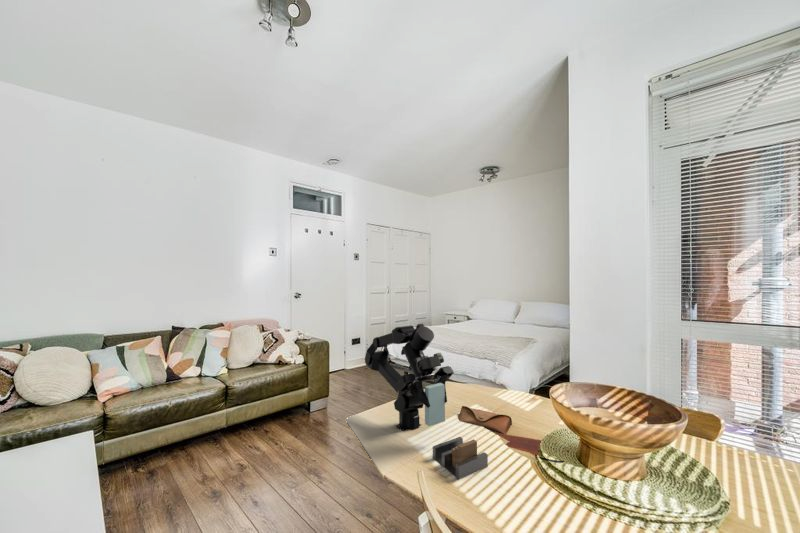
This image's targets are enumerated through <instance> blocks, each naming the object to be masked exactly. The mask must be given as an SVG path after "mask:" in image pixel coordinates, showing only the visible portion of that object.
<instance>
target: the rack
mask: <svg viewBox="0 0 800 533" xmlns="http://www.w3.org/2000/svg"><path fill="white" fill-rule="evenodd" d="M463 443H464V439H463V438H462V437H461V436H457V437H456V438H455V437H454V438H453V439H449V440H446V441H444V442H441V443H439V444H435V445H433V446H432V459H433V460H434V461H435V462H437V463H438V464H439V465H440V466H441V467H442V468H444V469H445V470H447V472H449V473H450V474H451V475H453V476H454V477H455V478H456V479H457V480H461V479H464V478H467V476H470V475H472V474H476V473H477V472H479V471H481V470H484V469H487V468H488V467H489V466H488V465H489V464H488V463H489V462H488V460H489V459H488V458H489V456H488V454H487V453H486V452H484V451H483V452H481V453H479V454H477V455H476V456H474V457H471V458H469V459H466V460H464V461H462V462H459V463H457V464H456V469H455V468H454V467H453V466H452V449H453V448H455V447H456V446H458V445H460V444H463Z"/></svg>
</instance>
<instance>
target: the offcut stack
mask: <svg viewBox="0 0 800 533" xmlns="http://www.w3.org/2000/svg"><path fill="white" fill-rule="evenodd" d="M476 455H478V442H477V440H475V439H471V440H468V441H466V442H463V444H460V445H458V446H456V447H455V448H453V449H452V466H453V467H454V468H455V469H456V464H457V463H459V462H462V461H464V460H466V459H469V458H471V457H474V456H476Z"/></svg>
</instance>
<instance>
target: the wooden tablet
mask: <svg viewBox="0 0 800 533" xmlns="http://www.w3.org/2000/svg"><path fill="white" fill-rule="evenodd" d="M494 434H495V435H497V436H498V437H501V438H503V439H504V440H506V441H507V442H506V443H505V444H504V445H505V446H506V447H508V448H511V449H513V450H514V449H515V450H518V451H522V452H526V453H530V454H531V455H533V456H534V457H537V455H538V454H539V452H538V449H539V446H540V443H541V441H543V440H541V439H535V438H530V437H524V436H518V435H512V434H501V433H497V432H494ZM537 458H538V457H537Z"/></svg>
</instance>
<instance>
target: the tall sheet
mask: <svg viewBox="0 0 800 533" xmlns="http://www.w3.org/2000/svg"><path fill="white" fill-rule="evenodd" d="M445 388H446V384H445V385H444V384H442V383H437V384H435V383H434V384H429V385H426V386H424V392H425V394H426V396H427V399H428V401H429V404H430V407H429V408H427V407H426V406H425V405H424V425H426V426H427V427H431V426H435V425H437V424H441V423H444V422H445V421H446V403H445Z"/></svg>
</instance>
